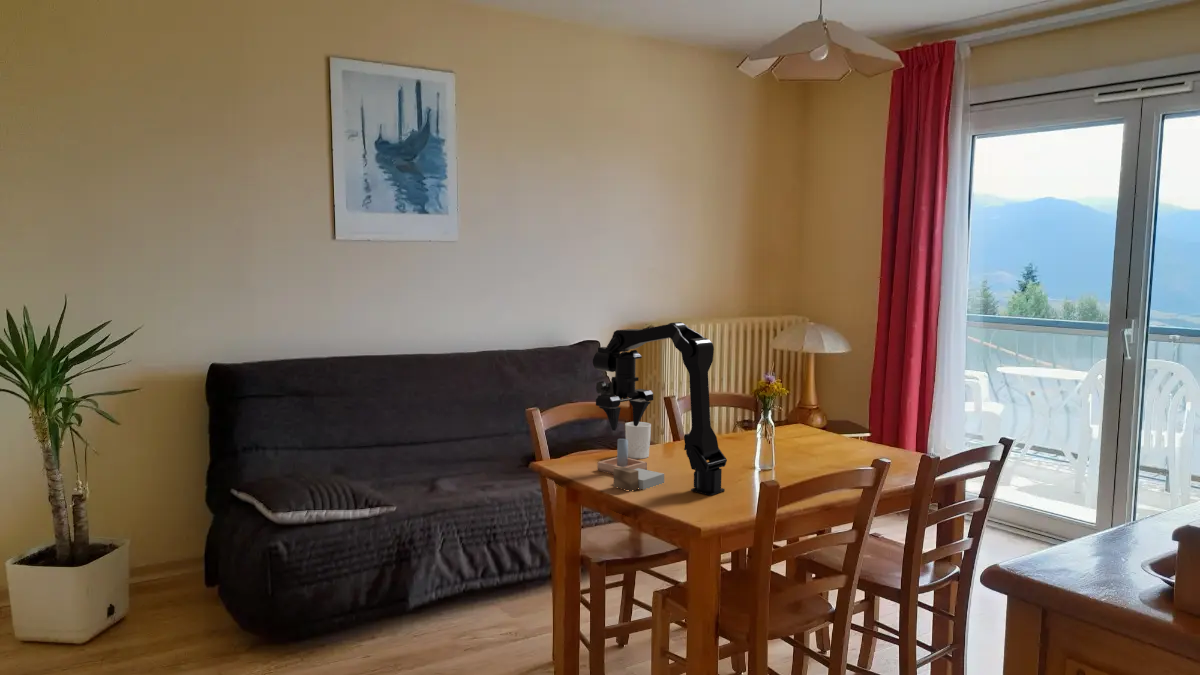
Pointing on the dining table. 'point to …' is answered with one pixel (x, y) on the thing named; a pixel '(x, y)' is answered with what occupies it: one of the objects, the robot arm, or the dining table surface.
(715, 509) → the dining table surface
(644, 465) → the tray
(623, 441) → the dowel
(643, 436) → the white cup
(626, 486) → the block
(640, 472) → the flat grey square block
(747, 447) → the dining table surface
